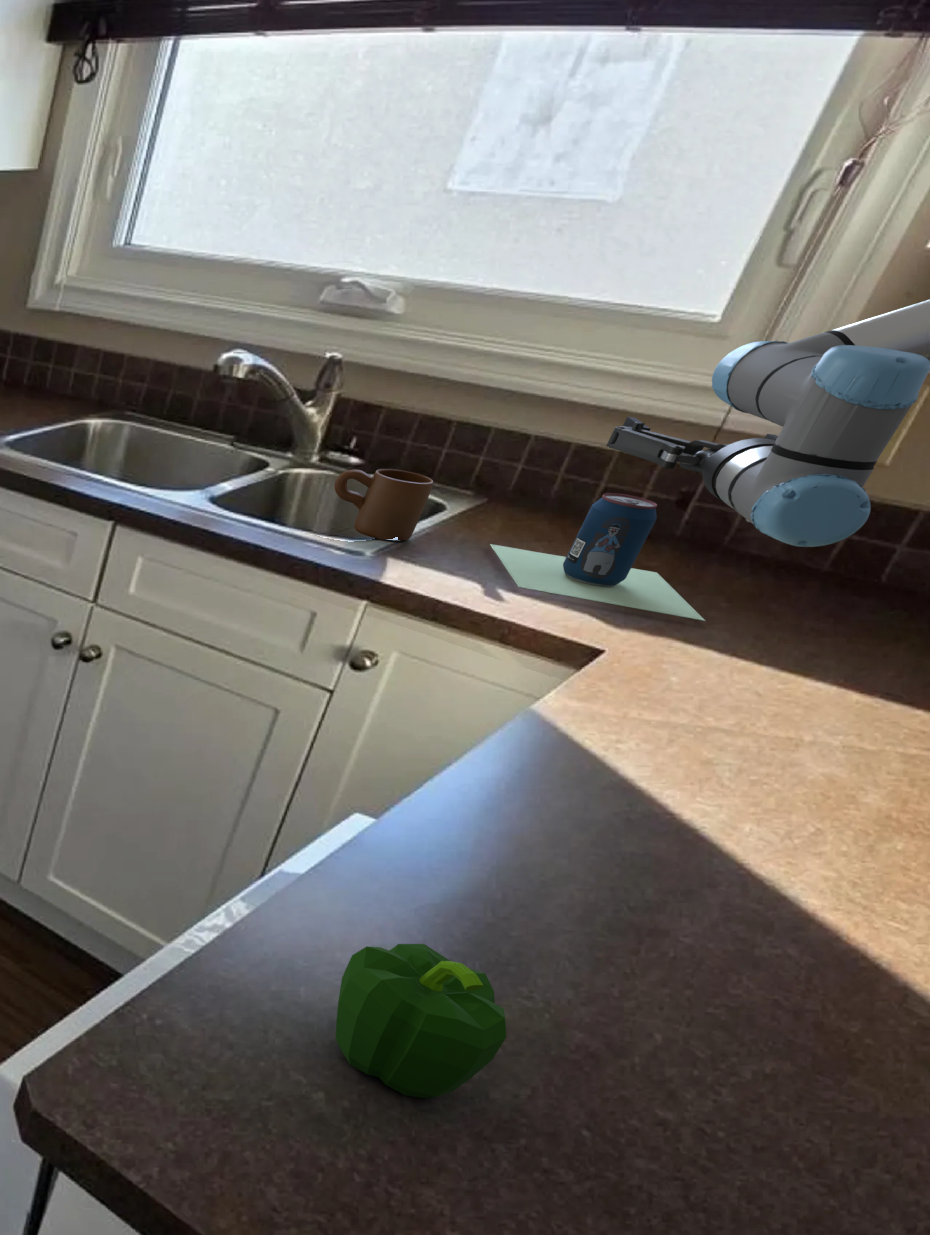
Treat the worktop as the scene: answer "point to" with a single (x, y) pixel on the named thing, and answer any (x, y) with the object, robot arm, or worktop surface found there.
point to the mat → (631, 592)
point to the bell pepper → (417, 1019)
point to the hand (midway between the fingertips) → (694, 435)
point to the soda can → (610, 539)
